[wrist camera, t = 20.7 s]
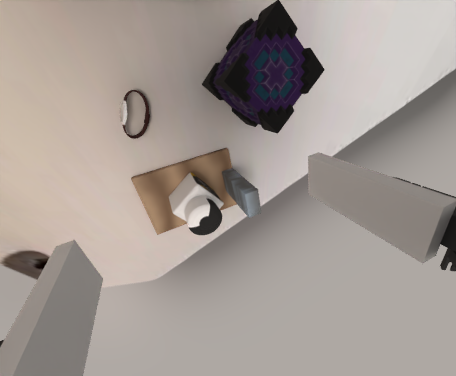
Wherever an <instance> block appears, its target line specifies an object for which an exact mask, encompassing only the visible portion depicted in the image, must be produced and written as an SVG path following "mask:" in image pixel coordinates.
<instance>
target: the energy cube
mask: <svg viewBox="0 0 456 376" xmlns="http://www.w3.org/2000/svg"><path fill="white" fill-rule="evenodd" d="M296 31H297V27H296V25H295V24H294V22H293V21H292V19H291V18H290V16H289V15H288V13H287V12H286V10H285V9H284V7H283V5H282V4H281V2H280V1H279V0H277V1H276V2H274V3H273V4H271V5H270V6H268V7H267V8H265V9H264V10H263V11H261V13H260V14H259V17H258V20H256V21H255V22H254V21H253V19H252V18H251V19H249V20H248V21H246V22H245V23H243V24H242V25H241V26H240V27H239V29H238V30H237V32H236V33H235V35H234V36H233V38H232V39H231V41H230V42H229V44H228V45H227V47H226V48H227V53H226V54H225V56H224V57H223V59H222V60H221V62H220V63H216V64H215V65H214V67H213V68H212V70H211V71H210V73H209V74H208V76H207V77H206V79H205V80H204V82H203V83H202V85H203V86H204V87H205V88H207V89H208V90H209V91H210V92H211V93H212V94H213V95H214V96H216V97H217V98H218V99H219V100H224V101H226V102H227V103H228V104H229V105H230V106H231V107H232V112H233V113H235V114H236V115H237V116H238V117H239V118H240V119H241V120H242V121H244V122H245V123H246V124H248V125H251V126H254V127H256V126H257V125H258V124H260V125H261V126H262V128H263V129H264V130H268V131H271V132H275V133H278V132H279V131H280V130H281V128H282V127H283V126H284V124H285V123H286V122H287V120H288V119H289V118H290V116H291V115H292V113H293V112H294V109H293V105H294V104H295V102H296V101H297V100H298V98H299V97H300V96H301V94H306V93H308V92H309V90H310V89H311V88H312V86H313V85H314V84H315V82H316V81H317V79H318V78H319V77H320V75H321V74H322V73H323V71H324V68H323V67H322V65H321V63H320V62H319V60H318V59H317V57H316V56H315V54H314V53H313V51H312V50H311V48H305V49H304V48H303V46H302V45H301V43H300V42H299V40H298V39H297V37H296V36H295V34H296Z"/></svg>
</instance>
